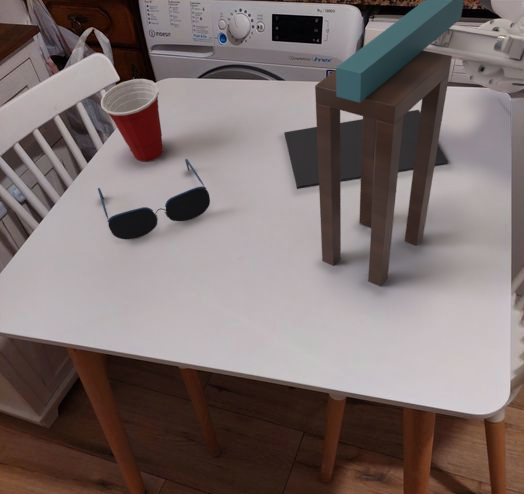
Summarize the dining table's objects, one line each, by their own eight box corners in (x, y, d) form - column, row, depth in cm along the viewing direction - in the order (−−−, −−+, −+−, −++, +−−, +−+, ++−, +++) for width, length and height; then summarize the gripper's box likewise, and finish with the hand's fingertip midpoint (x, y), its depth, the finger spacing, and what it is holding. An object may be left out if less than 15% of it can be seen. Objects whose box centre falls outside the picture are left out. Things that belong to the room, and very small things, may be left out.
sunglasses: (117, 245, 85) (105, 219, 81) (105, 207, 95) (94, 182, 92) (214, 211, 87) (206, 185, 84) (192, 178, 97) (185, 153, 94)
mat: (418, 111, 98) (418, 109, 98) (447, 163, 87) (448, 161, 87) (284, 134, 99) (284, 132, 99) (297, 188, 88) (296, 186, 88)
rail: (438, 15, 63) (441, -13, 61) (461, 18, 62) (465, -10, 60) (336, 96, 54) (335, 67, 52) (360, 103, 53) (361, 73, 51)
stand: (366, 216, 82) (374, 40, 61) (423, 238, 77) (452, 55, 57) (322, 260, 77) (314, 85, 56) (380, 286, 72) (395, 106, 52)
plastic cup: (111, 166, 100) (87, 106, 91) (139, 136, 106) (119, 77, 96) (158, 173, 96) (138, 111, 87) (185, 141, 102) (168, 80, 93)
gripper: (439, 20, 82) (405, -1, 72) (573, 41, 73) (555, 20, 62) (425, 64, 85) (390, 50, 75) (552, 90, 76) (531, 77, 65)
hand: (466, 36), depth 69 cm, fingers open, 8 cm apart
